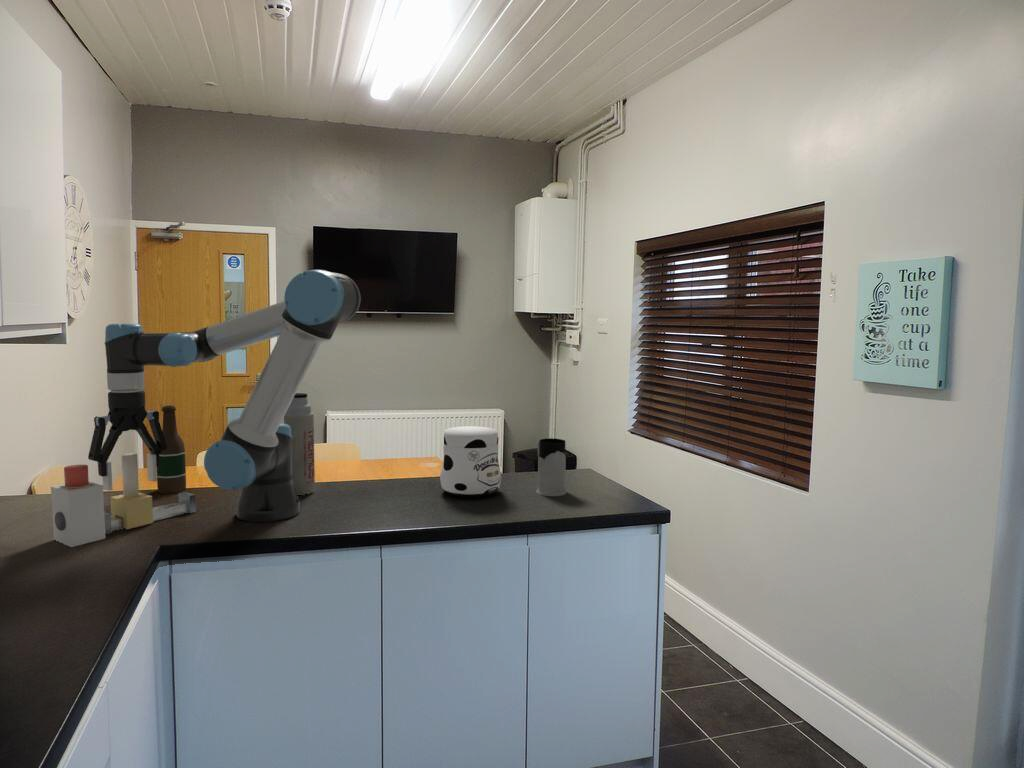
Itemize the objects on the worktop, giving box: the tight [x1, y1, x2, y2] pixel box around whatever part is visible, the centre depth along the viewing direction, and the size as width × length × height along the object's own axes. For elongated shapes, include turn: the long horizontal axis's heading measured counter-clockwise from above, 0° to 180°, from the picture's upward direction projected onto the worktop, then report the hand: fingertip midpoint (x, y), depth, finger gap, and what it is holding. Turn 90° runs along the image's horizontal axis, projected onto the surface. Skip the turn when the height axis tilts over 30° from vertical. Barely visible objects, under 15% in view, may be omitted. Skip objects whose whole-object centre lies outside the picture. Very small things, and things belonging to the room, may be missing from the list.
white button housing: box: [50, 481, 107, 548], centre depth 150 cm, size 8×7×12 cm
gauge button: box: [63, 464, 90, 487], centre depth 149 cm, size 4×4×4 cm
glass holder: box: [535, 437, 567, 497], centre depth 198 cm, size 9×14×15 cm, turn 21°
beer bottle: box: [156, 405, 187, 495], centre depth 190 cm, size 8×8×24 cm
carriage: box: [110, 453, 154, 530], centre depth 160 cm, size 7×6×16 cm
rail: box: [104, 491, 197, 535], centre depth 164 cm, size 5×22×4 cm, turn 147°
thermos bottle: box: [283, 392, 316, 496], centre depth 190 cm, size 8×8×28 cm
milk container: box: [439, 425, 502, 498], centre depth 193 cm, size 17×17×18 cm
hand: (130, 484), depth 160 cm, fingers open, 10 cm apart
